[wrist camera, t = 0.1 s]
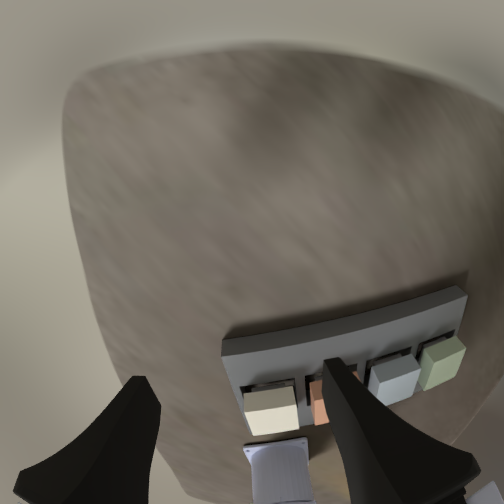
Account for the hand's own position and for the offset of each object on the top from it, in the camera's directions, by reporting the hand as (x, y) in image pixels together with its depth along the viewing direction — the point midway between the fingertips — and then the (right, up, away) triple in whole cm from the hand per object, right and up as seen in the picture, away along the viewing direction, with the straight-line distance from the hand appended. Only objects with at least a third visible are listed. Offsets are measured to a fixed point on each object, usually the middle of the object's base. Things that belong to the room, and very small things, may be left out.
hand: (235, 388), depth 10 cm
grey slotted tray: (+10, -5, +13) cm, 17 cm away
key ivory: (+2, -7, +12) cm, 14 cm away
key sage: (+18, -4, +12) cm, 22 cm away
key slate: (+13, -5, +12) cm, 18 cm away
